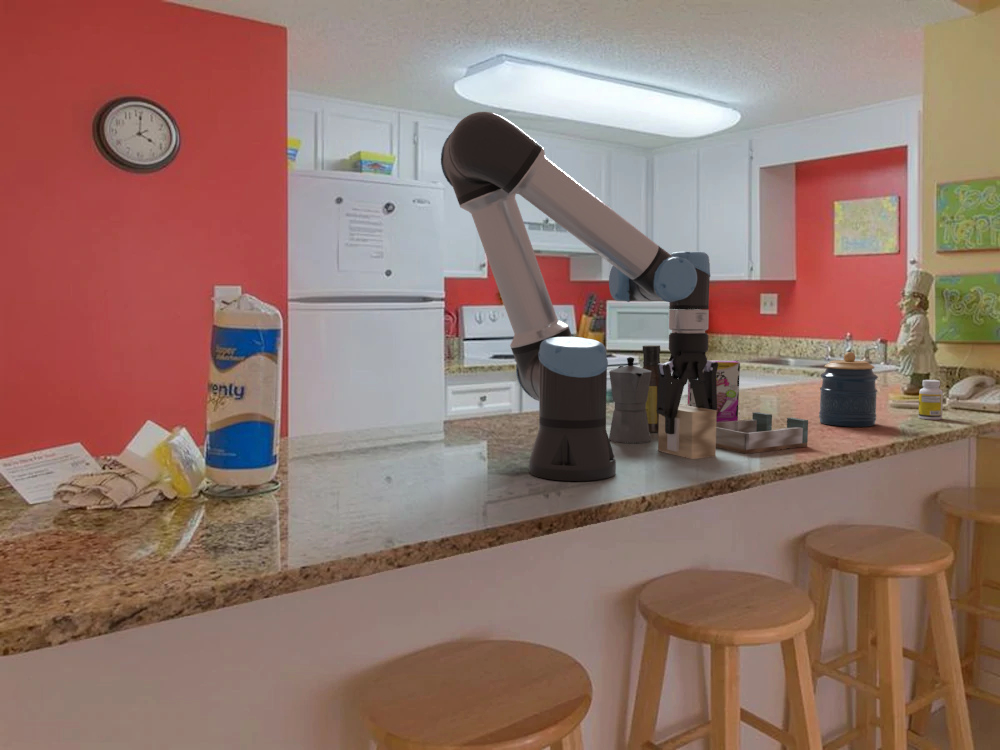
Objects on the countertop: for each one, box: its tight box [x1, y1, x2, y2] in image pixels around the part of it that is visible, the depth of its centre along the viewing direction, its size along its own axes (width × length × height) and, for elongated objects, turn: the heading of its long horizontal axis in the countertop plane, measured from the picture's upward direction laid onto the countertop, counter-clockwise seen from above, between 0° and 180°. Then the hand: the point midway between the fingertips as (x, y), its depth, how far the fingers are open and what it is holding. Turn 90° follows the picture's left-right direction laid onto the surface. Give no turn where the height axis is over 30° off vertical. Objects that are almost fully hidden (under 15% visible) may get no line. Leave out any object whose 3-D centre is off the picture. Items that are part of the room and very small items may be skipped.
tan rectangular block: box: [657, 404, 717, 460], centre depth 161 cm, size 6×10×9 cm, turn 28°
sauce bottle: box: [642, 344, 661, 433], centre depth 189 cm, size 6×6×20 cm
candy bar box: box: [686, 359, 741, 423], centre depth 189 cm, size 11×5×16 cm, turn 84°
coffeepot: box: [608, 356, 652, 444], centre depth 178 cm, size 15×9×18 cm, turn 8°
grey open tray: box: [716, 411, 809, 455], centre depth 171 cm, size 17×14×6 cm
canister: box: [818, 351, 879, 428], centre depth 200 cm, size 13×13×18 cm
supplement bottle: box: [918, 379, 944, 421], centre depth 209 cm, size 5×5×10 cm
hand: (686, 448), depth 162 cm, fingers closed on tan rectangular block, 6 cm apart
